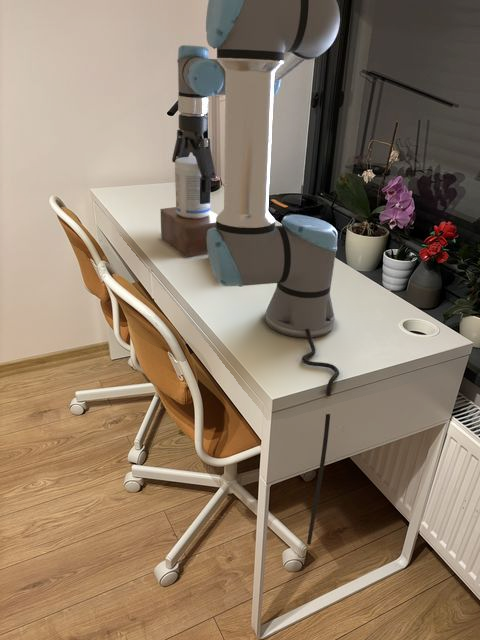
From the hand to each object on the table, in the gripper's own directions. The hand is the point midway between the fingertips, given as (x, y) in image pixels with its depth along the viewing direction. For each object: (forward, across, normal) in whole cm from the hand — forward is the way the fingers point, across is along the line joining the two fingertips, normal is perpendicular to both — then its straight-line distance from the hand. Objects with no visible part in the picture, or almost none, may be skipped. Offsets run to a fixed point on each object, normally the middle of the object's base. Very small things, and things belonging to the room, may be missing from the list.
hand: (193, 196), depth 153 cm
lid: (+6, 0, 0) cm, 6 cm away
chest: (+14, 0, 0) cm, 14 cm away
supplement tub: (+5, 0, 0) cm, 5 cm away
